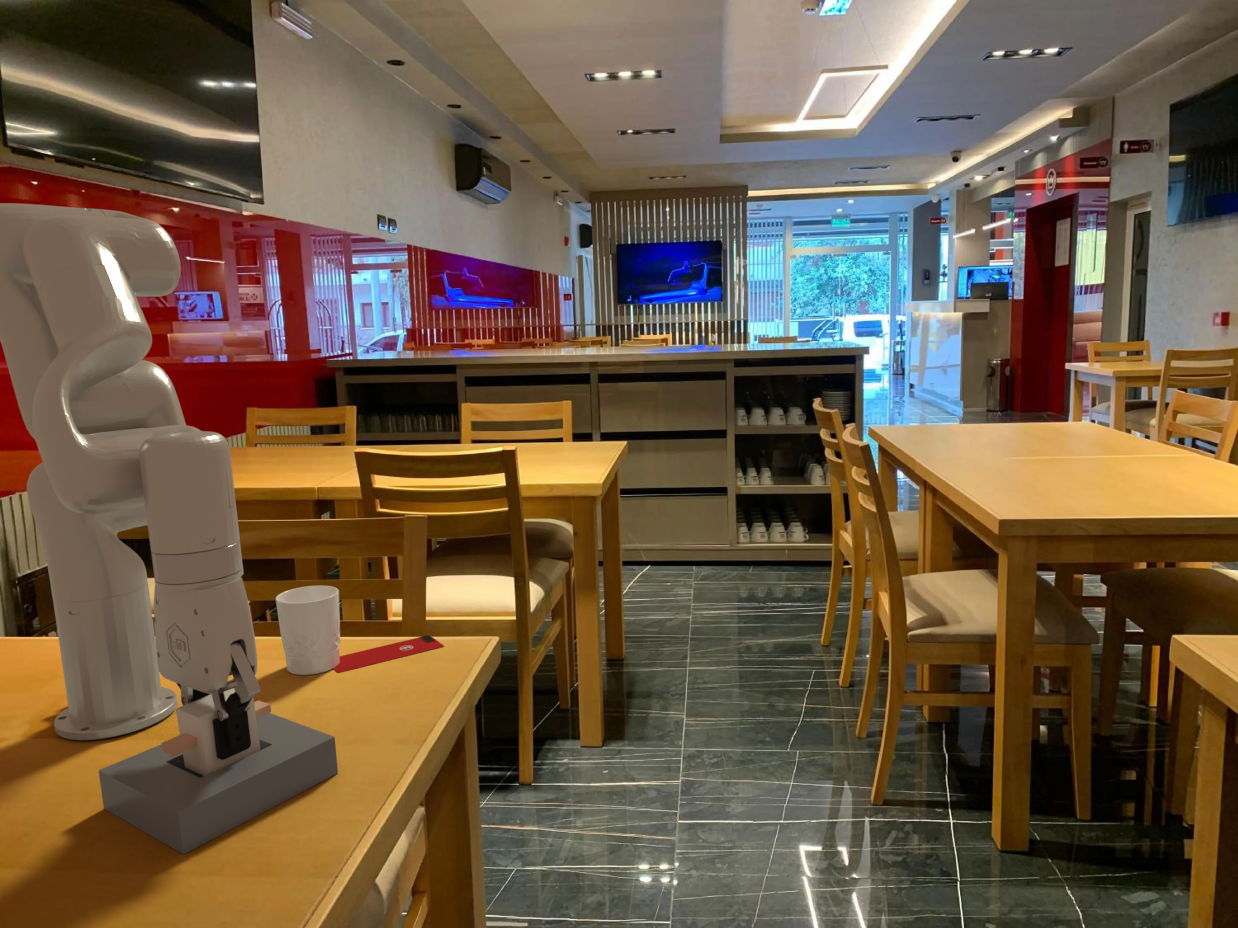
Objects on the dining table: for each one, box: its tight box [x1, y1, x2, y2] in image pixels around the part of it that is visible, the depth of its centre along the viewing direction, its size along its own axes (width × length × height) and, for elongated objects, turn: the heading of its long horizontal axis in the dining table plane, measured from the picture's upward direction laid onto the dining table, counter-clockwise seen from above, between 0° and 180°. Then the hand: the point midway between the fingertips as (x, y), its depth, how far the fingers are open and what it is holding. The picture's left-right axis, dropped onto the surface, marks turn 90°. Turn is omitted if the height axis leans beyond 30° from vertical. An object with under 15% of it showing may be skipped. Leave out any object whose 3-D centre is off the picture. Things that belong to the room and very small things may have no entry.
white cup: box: [275, 585, 341, 676], centre depth 116 cm, size 8×8×10 cm
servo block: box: [160, 688, 272, 776], centre depth 84 cm, size 4×10×6 cm, turn 145°
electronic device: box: [332, 634, 445, 674], centre depth 120 cm, size 6×1×15 cm
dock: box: [98, 712, 339, 855], centre depth 85 cm, size 14×16×4 cm
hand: (220, 745), depth 84 cm, fingers closed on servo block, 4 cm apart
